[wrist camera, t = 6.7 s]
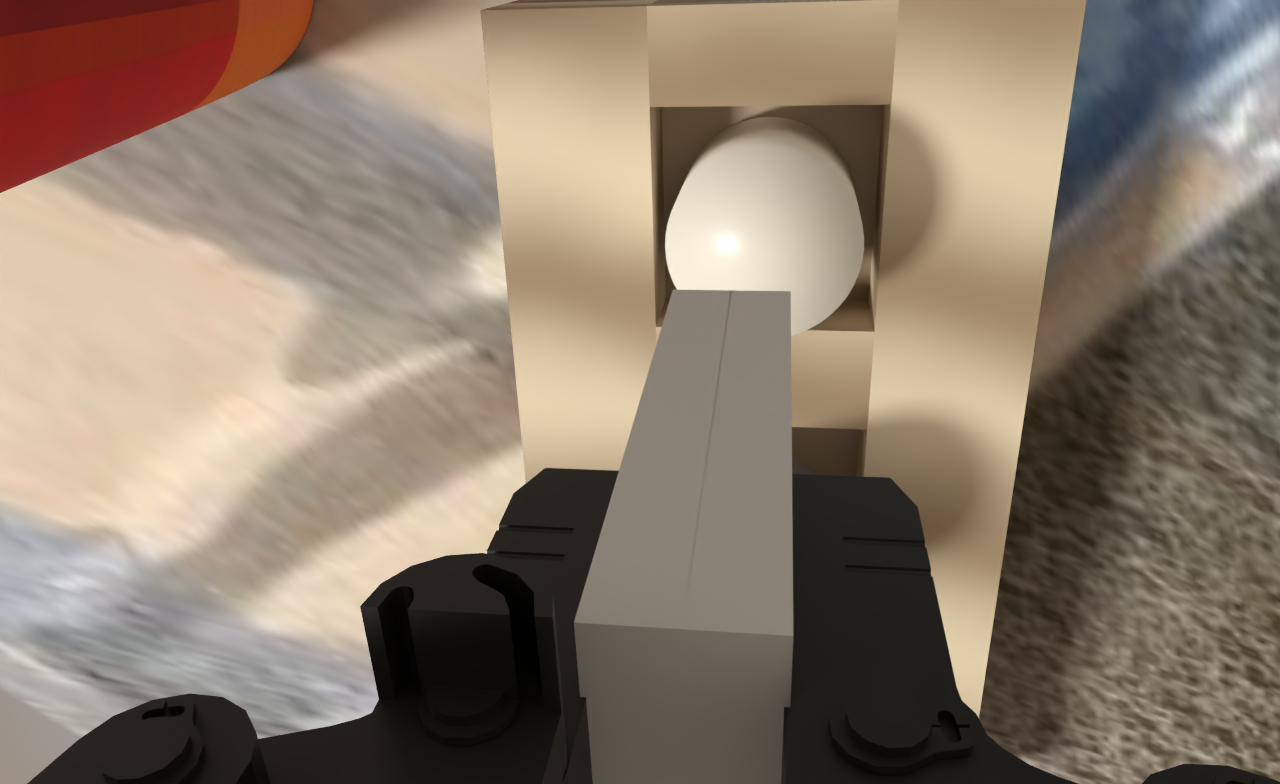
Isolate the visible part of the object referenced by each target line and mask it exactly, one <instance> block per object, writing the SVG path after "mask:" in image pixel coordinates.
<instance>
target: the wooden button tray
mask: <svg viewBox="0 0 1280 784" xmlns="http://www.w3.org/2000/svg"><path fill="white" fill-rule="evenodd" d="M1086 1H1087V0H517V1H514V2H510V3H506V4H503V5H499V6H495V7H491V8H488V9H484V10H481V20H482V30H483V40H484V51H485V61H486V72H487V82H488V93H489V103H490V113H491V124H492V134H493V145H494V155H495V165H496V176H497V186H498V197H499V207H500V218H501V228H502V238H503V249H504V259H505V270H506V280H507V291H508V301H509V311H510V322H511V332H512V343H513V353H514V363H515V374H516V384H517V395H518V405H519V416H520V426H521V436H522V447H523V457H524V468H525V478H526V483H527V482H528V481H530V480H531V479H532V478H533V477H535V476H536V475H537V474H538V473H539V472H541V471H542V470H543V469H544V468H563V469H589V470H615V471H619V469H620V466H621V462H622V459H623V456H624V452H625V449H626V446H627V442H628V439H629V435H630V432H631V429H632V425H633V422H634V419H635V415H636V412H637V409H638V405H639V402H640V398H641V395H642V392H643V388H644V385H645V382H646V378H647V375H648V372H649V368H650V365H651V361H652V358H653V355H654V351H655V348H656V345H657V341H658V338H659V334H660V331H661V328H662V324H663V321H664V318H665V314H666V311H667V308H668V304H669V301H670V297H671V294H672V291H673V290H677V289H676V287H675V285H674V283H673V281H672V278H671V276H670V273H669V269H668V265H667V261H666V252H665V237H666V230H667V224H668V220H669V217H670V214H671V211H672V209H673V206H674V204H675V202H676V199H677V197H678V195H679V193H680V190H681V188H682V186H683V184H684V181H685V179H686V177H687V175H688V172H689V170H690V168H691V166H692V164H693V162H694V160H695V159H696V157H697V156H698V154H699V152H700V151H701V150H702V149H703V148H704V146H705V145H706V144H707V143H708V142H709V141H710V140H711V139H713V138H714V137H715V136H716V135H717V134H719V133H720V132H722V131H723V130H725V129H726V128H728V127H730V126H732V125H734V124H737V123H739V122H742V121H745V120H749V119H754V118H759V117H782V118H787V119H793V120H796V121H799V122H802V123H804V124H806V125H808V126H810V127H812V128H814V129H816V130H817V131H819V132H820V133H822V134H823V135H824V136H825V137H827V138H828V139H829V140H830V141H831V142H832V143H833V144H834V145H835V147H836V148H837V149H838V150H839V151H840V153H841V155H842V156H843V158H844V159H845V161H846V163H847V166H848V168H849V170H850V173H851V176H852V180H853V184H854V188H855V193H856V197H857V202H858V207H859V211H860V216H861V220H862V226H863V233H864V253H863V260H862V265H861V268H860V272H859V275H858V277H857V279H856V282H855V284H854V286H853V288H852V289H851V291H850V293H849V295H848V296H847V297H846V299H845V300H844V301H843V303H842V304H841V305H840V306H839V307H838V308H837V309H836V310H835V311H834V312H833V313H832V314H831V315H830V316H829V317H827V318H826V319H825V320H823V321H822V322H821V323H819V324H817V325H815V326H814V327H812V328H810V329H808V330H806V331H803V332H801V333H799V334H795V335H792V336H791V398H792V457H794V458H796V459H798V460H800V461H802V462H804V463H805V464H807V465H809V466H810V467H812V468H813V469H814V470H815V471H816V472H818V473H819V474H820V475H835V476H861V477H887V478H891V479H892V480H893V481H894V482H895V483H896V484H897V485H898V486H899V488H900V489H901V490H902V491H903V492H904V493H905V494H906V495H907V496H908V497H909V498H910V499H911V500H912V501H913V502H914V503H915V505H916V506H917V507H918V510H919V515H920V520H921V524H922V529H923V534H924V538H925V547H926V548H927V552H928V557H929V561H930V566H931V576H933V580H934V585H935V589H936V594H937V598H938V603H939V608H940V612H941V617H942V622H943V626H944V631H945V636H946V640H947V645H948V649H949V654H950V659H951V663H952V668H953V673H954V677H955V682H956V687H957V690H958V692H959V695H960V697H961V700H962V701H963V702H964V703H965V704H966V705H967V706H968V707H969V708H971V709H972V710H973V711H974V712H975V713H976V714H977V716H978V718H979V714H980V707H981V701H982V694H983V687H984V681H985V674H986V667H987V661H988V654H989V647H990V641H991V634H992V627H993V621H994V614H995V607H996V601H997V594H998V587H999V581H1000V574H1001V567H1002V561H1003V554H1004V547H1005V541H1006V534H1007V527H1008V521H1009V514H1010V507H1011V501H1012V494H1013V487H1014V481H1015V474H1016V467H1017V461H1018V454H1019V447H1020V441H1021V434H1022V427H1023V421H1024V414H1025V407H1026V401H1027V394H1028V387H1029V381H1030V374H1031V367H1032V361H1033V354H1034V347H1035V341H1036V334H1037V327H1038V321H1039V314H1040V307H1041V301H1042V294H1043V287H1044V281H1045V274H1046V267H1047V261H1048V254H1049V247H1050V241H1051V234H1052V227H1053V221H1054V214H1055V207H1056V201H1057V194H1058V187H1059V181H1060V174H1061V167H1062V161H1063V154H1064V147H1065V141H1066V134H1067V127H1068V121H1069V114H1070V107H1071V101H1072V94H1073V87H1074V81H1075V74H1076V67H1077V61H1078V54H1079V47H1080V41H1081V34H1082V27H1083V21H1084V14H1085V7H1086Z"/></svg>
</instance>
